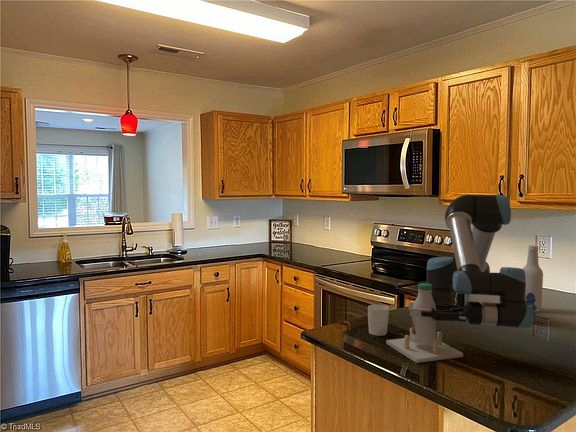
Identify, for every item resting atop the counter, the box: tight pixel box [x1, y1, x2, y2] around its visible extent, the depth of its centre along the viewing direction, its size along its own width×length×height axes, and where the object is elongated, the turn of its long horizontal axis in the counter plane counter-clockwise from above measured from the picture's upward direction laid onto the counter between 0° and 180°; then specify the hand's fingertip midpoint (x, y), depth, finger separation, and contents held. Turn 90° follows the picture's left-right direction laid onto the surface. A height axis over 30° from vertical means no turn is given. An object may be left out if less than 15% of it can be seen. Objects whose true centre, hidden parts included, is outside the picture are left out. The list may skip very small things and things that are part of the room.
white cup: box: [367, 304, 390, 337], centre depth 164 cm, size 8×8×10 cm
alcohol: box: [522, 244, 544, 313], centre depth 200 cm, size 9×9×30 cm
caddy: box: [385, 327, 464, 364], centre depth 147 cm, size 18×18×6 cm
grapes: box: [525, 293, 537, 321], centre depth 183 cm, size 12×7×12 cm, turn 156°
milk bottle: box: [411, 282, 437, 345], centre depth 147 cm, size 8×8×20 cm
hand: (409, 308), depth 148 cm, fingers open, 8 cm apart
